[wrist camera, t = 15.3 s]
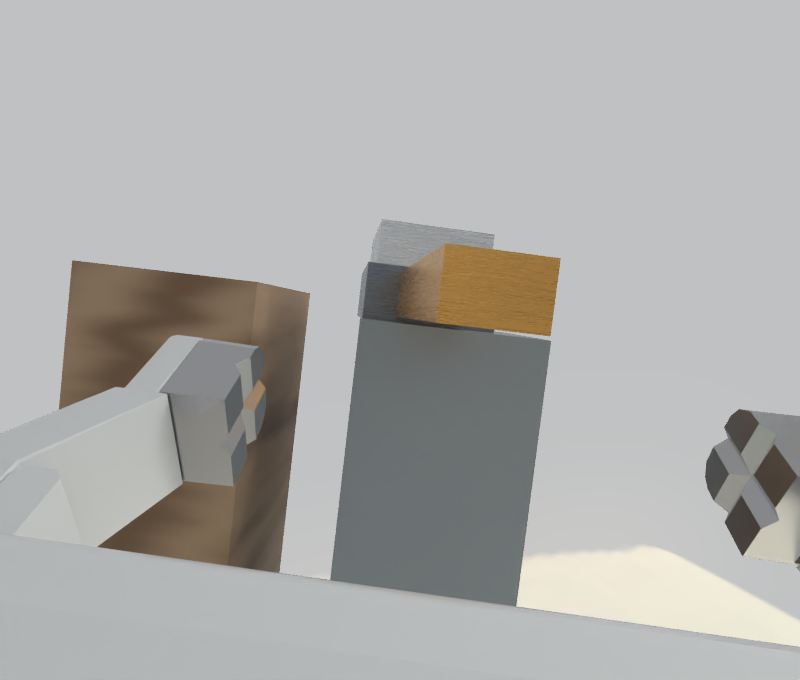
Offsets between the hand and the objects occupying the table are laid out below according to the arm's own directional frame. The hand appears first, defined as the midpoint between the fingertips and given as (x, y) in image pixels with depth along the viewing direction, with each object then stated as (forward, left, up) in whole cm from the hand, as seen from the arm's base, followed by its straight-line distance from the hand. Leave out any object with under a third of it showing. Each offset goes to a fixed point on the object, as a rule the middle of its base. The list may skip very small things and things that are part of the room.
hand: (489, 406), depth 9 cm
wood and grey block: (+1, -14, +1) cm, 14 cm away
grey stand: (0, -19, -23) cm, 30 cm away
